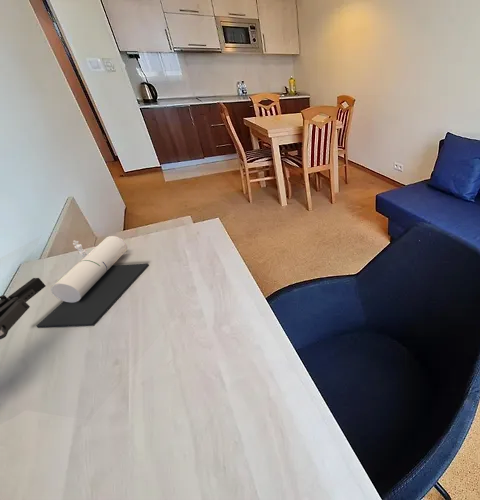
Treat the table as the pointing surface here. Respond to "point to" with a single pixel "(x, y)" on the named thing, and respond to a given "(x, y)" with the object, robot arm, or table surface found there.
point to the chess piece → (79, 248)
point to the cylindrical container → (89, 270)
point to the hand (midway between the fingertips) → (39, 282)
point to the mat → (95, 298)
